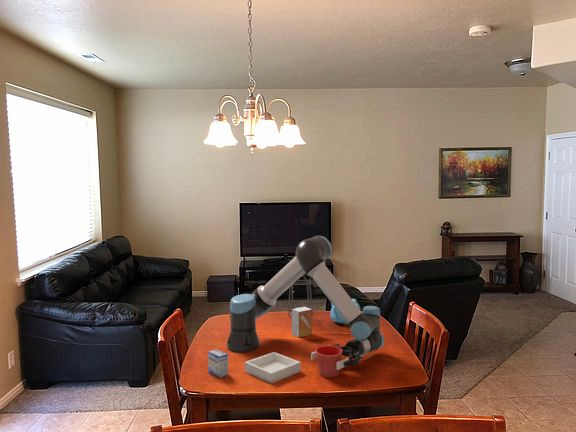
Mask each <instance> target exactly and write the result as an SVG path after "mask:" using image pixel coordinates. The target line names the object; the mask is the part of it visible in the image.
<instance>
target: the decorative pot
mask: <svg viewBox="0 0 576 432" xmlns="http://www.w3.org/2000/svg"><path fill="white" fill-rule="evenodd" d="M351 299H352V300H353V302H354V303H355V304H356V306H357V307H358V308H359V309H360V310H361V306H360V304H359V303H358V301H357V299H356V298H351ZM330 304H331V309H330V316H329V317H330V319H331V320H332V321H333V322H334V323H339V324H344V326H349V324H348V323H347V322H346V320H345V319H344V318H343V317H342V315H341V314H340V313H339V311H338V310H337V309H336V307H335V306H334V305H333V304H332V302H331V301H330Z"/></svg>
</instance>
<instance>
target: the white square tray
mask: <svg viewBox="0 0 576 432" xmlns="http://www.w3.org/2000/svg"><path fill="white" fill-rule="evenodd" d="M301 367H302V366H301V361H299V360H296V359H293V358H291V357H289V356H285V355H283V354H280V353H278V352H275V351H273V352H270V353H267V354H264V355H261V356H259V357H255V358H252V359H250V360H247V361H245V362H244V372H245V373H247V374H249V375H252V376H254V377H256V378H258V379H260V380H262V381H264V382H265V383H266V382H267V383H269V384H274V383H276V382H278V381H281V380H283V379H286V378H289V377H290V376H293V375H295V374H298V373H301V369H302V368H301Z"/></svg>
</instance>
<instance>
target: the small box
mask: <svg viewBox="0 0 576 432" xmlns="http://www.w3.org/2000/svg"><path fill="white" fill-rule="evenodd" d="M291 311H292V312H291V314H292V315H291V316H292V317H291V334H292V335H293V336H294V337H297V338H302V337H307V336H312V334H313V333H312V332H313V328H312V327H313V316H312V309H311V307H309V308H308V306H301V307H296V308H293V309H292V308H291Z"/></svg>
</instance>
